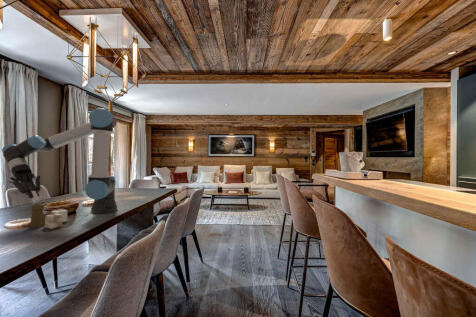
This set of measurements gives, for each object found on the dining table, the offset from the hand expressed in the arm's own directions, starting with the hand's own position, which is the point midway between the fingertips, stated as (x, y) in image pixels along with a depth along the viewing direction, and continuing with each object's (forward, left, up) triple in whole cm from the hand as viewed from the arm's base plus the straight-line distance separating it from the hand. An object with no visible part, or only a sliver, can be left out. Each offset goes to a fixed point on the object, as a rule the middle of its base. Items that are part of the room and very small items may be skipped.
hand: (37, 202), depth 117 cm
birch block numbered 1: (-10, +1, -12) cm, 15 cm away
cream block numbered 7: (-6, -8, -12) cm, 15 cm away
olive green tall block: (-1, 0, -12) cm, 12 cm away
